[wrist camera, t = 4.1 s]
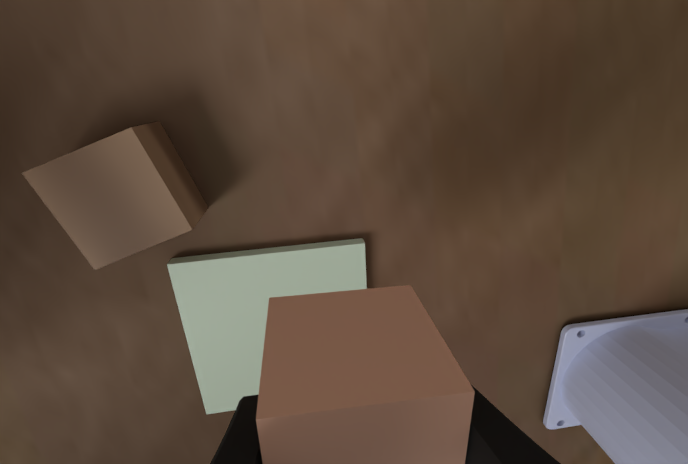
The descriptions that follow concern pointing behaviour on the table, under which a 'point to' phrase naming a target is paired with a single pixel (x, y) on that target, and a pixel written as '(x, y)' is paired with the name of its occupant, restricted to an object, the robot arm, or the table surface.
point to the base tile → (250, 306)
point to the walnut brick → (120, 194)
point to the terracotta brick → (360, 382)
